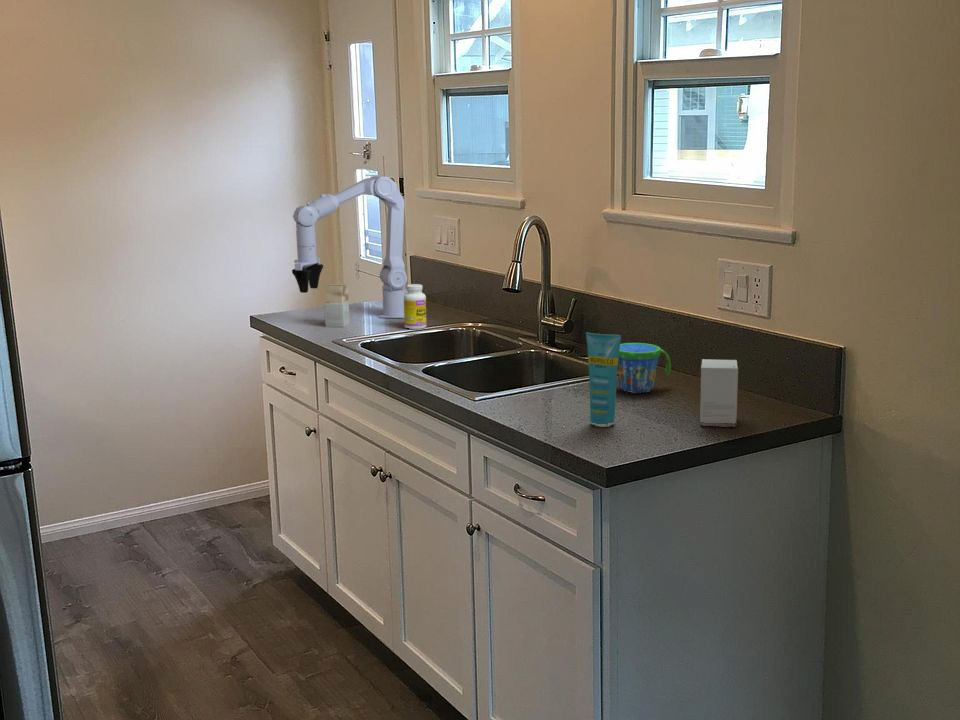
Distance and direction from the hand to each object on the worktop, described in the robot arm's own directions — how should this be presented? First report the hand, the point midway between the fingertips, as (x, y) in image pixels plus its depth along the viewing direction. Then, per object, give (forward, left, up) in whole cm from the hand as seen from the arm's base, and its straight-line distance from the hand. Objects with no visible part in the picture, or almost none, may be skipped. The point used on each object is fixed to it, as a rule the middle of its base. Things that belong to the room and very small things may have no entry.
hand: (309, 290), depth 320 cm
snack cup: (+59, +106, -11) cm, 122 cm away
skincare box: (0, +9, -11) cm, 14 cm away
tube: (+87, +102, -11) cm, 134 cm away
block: (0, +9, -3) cm, 10 cm away
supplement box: (+81, +125, -11) cm, 149 cm away
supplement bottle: (0, +34, -11) cm, 35 cm away
